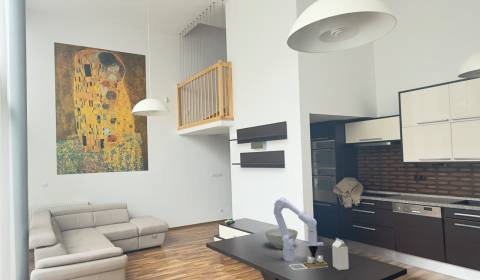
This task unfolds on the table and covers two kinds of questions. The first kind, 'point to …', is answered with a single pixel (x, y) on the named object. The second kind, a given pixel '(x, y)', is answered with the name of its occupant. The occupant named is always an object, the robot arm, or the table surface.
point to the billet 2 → (319, 259)
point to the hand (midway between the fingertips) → (313, 257)
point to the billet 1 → (310, 260)
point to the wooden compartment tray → (315, 265)
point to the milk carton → (340, 255)
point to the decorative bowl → (278, 237)
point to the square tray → (297, 269)
